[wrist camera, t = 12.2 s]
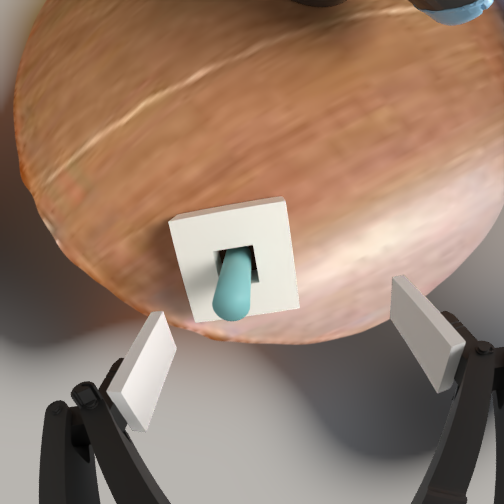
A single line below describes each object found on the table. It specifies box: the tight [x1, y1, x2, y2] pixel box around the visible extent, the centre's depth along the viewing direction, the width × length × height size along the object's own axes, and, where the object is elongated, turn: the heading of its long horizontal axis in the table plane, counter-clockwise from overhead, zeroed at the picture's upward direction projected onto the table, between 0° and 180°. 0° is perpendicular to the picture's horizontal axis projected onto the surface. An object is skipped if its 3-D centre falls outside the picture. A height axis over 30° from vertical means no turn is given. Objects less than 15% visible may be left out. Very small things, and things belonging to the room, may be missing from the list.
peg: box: [212, 246, 251, 321], centre depth 38 cm, size 4×4×16 cm
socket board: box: [168, 196, 300, 323], centre depth 43 cm, size 16×16×5 cm
